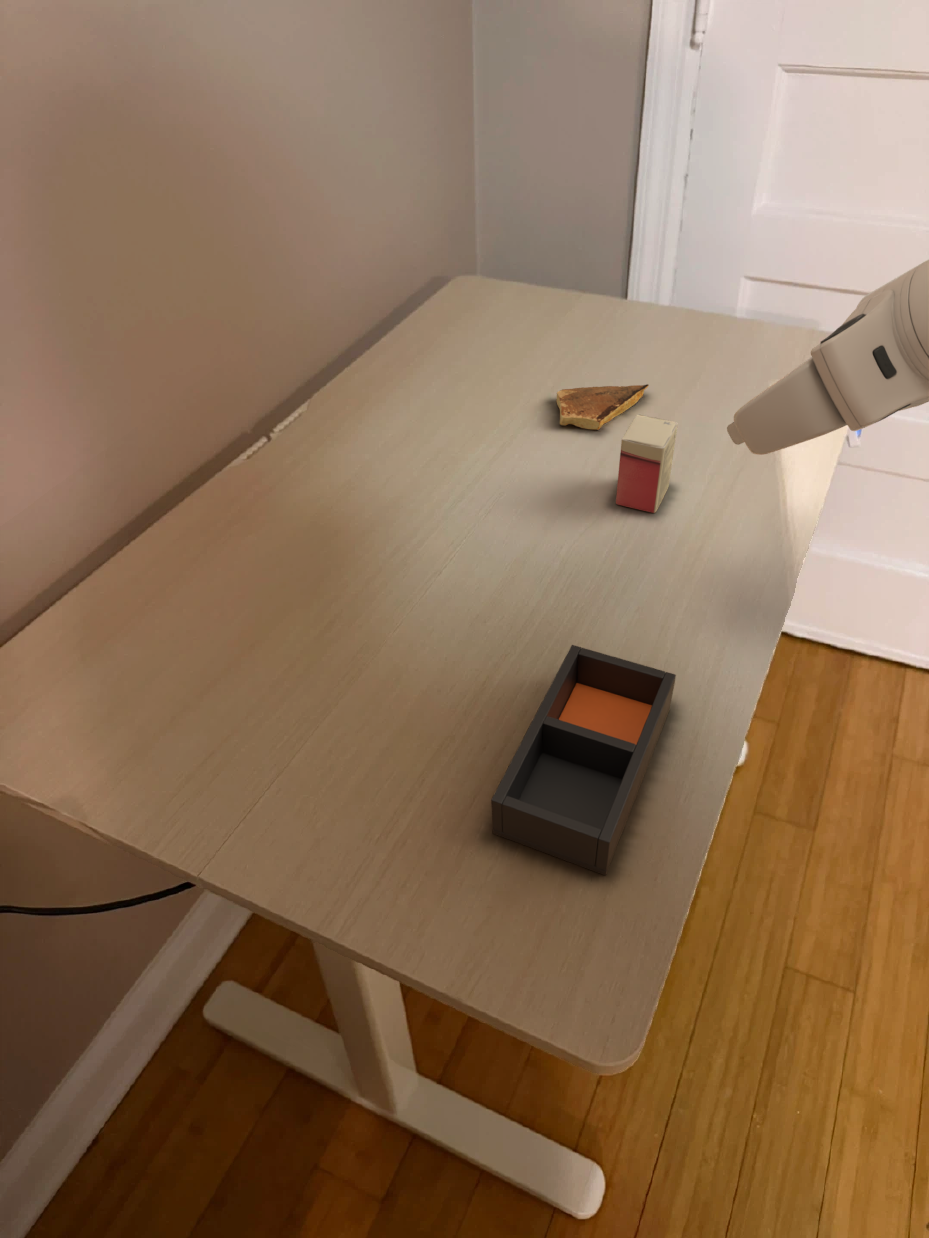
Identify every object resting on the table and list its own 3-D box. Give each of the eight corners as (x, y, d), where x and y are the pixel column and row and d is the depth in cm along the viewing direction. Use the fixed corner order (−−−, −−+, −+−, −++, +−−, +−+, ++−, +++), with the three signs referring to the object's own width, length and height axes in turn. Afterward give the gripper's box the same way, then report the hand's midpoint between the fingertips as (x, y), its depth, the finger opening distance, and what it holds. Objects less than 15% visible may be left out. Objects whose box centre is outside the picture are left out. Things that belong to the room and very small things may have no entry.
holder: (670, 709, 71) (676, 674, 68) (605, 875, 60) (609, 842, 57) (570, 678, 73) (571, 644, 70) (492, 833, 63) (490, 799, 60)
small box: (629, 478, 93) (636, 412, 88) (669, 487, 92) (679, 420, 86) (614, 505, 90) (620, 438, 85) (655, 515, 89) (664, 447, 83)
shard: (647, 395, 105) (649, 381, 104) (658, 430, 100) (659, 416, 98) (555, 399, 105) (556, 386, 104) (561, 434, 100) (561, 420, 99)
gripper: (967, 254, 67) (822, 335, 79) (812, 350, 58) (674, 424, 70) (1005, 329, 67) (855, 397, 80) (857, 435, 58) (713, 494, 70)
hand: (769, 411), depth 75 cm, fingers open, 8 cm apart
